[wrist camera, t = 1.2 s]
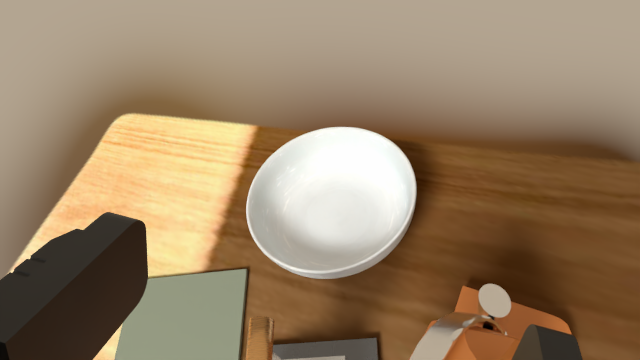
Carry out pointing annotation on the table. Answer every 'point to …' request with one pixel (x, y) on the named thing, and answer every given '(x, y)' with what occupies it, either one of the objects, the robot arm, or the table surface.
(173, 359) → the rubber mat
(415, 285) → the table surface
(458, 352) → the desk clock
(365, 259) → the serving bowl
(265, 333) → the cylinder
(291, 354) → the chuck block
